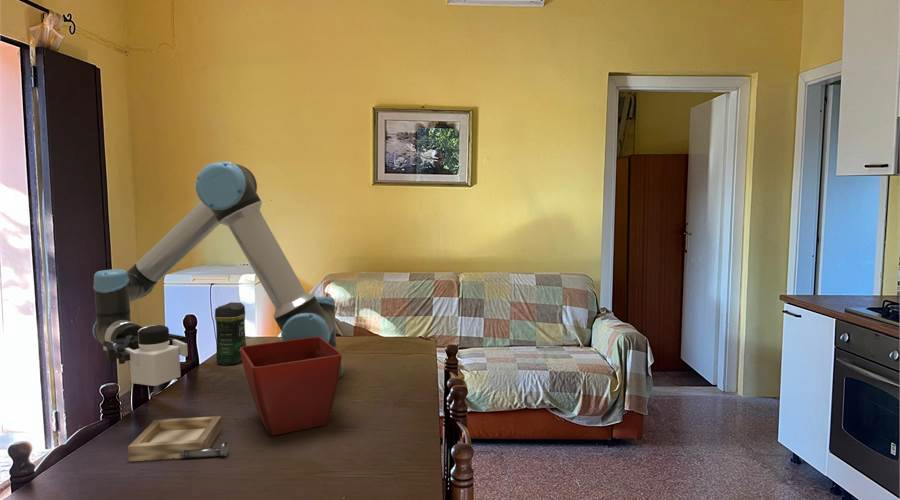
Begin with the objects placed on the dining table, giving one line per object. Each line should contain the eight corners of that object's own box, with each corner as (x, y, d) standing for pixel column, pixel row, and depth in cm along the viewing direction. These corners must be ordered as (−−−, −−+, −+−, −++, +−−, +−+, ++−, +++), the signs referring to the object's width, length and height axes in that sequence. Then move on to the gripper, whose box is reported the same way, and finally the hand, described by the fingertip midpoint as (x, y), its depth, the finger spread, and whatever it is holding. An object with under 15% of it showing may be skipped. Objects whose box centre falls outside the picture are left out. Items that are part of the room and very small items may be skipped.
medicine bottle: (181, 376, 131) (178, 324, 130) (155, 386, 124) (152, 331, 123) (157, 373, 133) (154, 322, 132) (130, 383, 126) (126, 329, 125)
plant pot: (255, 446, 120) (252, 366, 119) (242, 415, 137) (239, 346, 136) (345, 428, 129) (343, 354, 128) (322, 401, 146) (320, 336, 145)
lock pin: (228, 452, 118) (227, 440, 117) (225, 458, 115) (224, 445, 115) (182, 455, 116) (182, 442, 116) (178, 461, 114) (177, 448, 114)
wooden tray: (221, 429, 130) (221, 416, 129) (203, 456, 116) (202, 442, 115) (155, 433, 128) (154, 419, 128) (128, 461, 114) (127, 446, 114)
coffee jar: (237, 366, 178) (234, 306, 177) (212, 365, 179) (209, 306, 177) (251, 357, 188) (248, 300, 186) (227, 357, 189) (224, 300, 187)
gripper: (175, 344, 149) (213, 361, 133) (76, 363, 133) (106, 384, 117) (173, 315, 148) (211, 328, 132) (73, 330, 132) (104, 347, 117)
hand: (162, 354), depth 125 cm, fingers closed on medicine bottle, 9 cm apart
